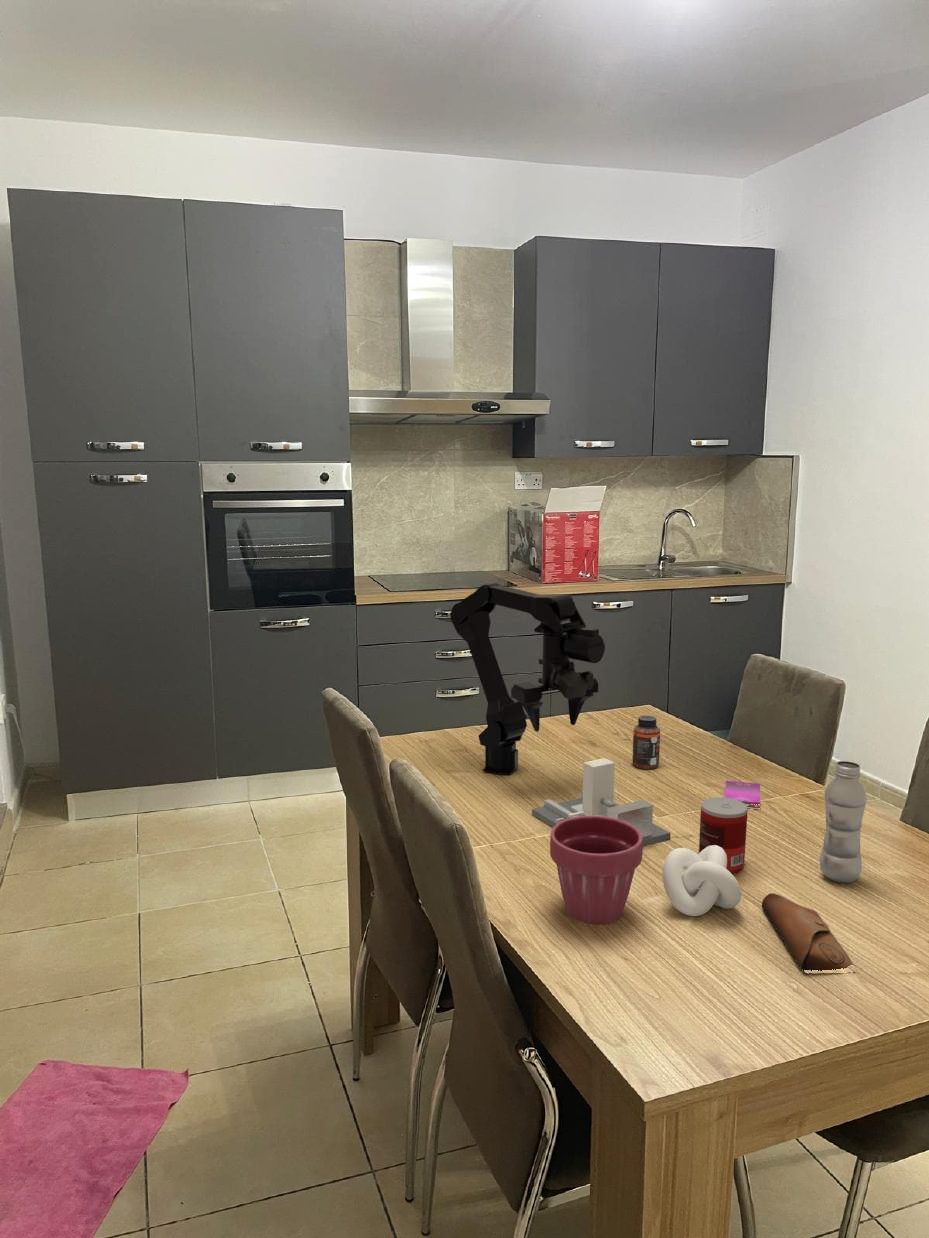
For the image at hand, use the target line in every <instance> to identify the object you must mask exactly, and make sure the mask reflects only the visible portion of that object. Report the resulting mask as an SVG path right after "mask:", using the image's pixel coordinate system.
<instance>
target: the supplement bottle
mask: <svg viewBox="0 0 929 1238" xmlns="http://www.w3.org/2000/svg"><path fill="white" fill-rule="evenodd" d="M637 720H638V721H637V724H636V725H635V726H634V728H633V734H632V735H633V736H632V737H633V739H632V765H633V766H634V767H635V768H639V769H641V770H642V769H643V770H653V769H656V768H658V767H659V765H660V751H661V750H660V748H661V747H660V746H661V745H660V744H661V743H660V742H661V728H659V726H658V725H657V718H656V716H653V715H640V716H638V718H637Z"/></svg>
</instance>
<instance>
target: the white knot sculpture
mask: <svg viewBox="0 0 929 1238" xmlns="http://www.w3.org/2000/svg"><path fill="white" fill-rule="evenodd" d="M662 865H663V866H662V883H663V888H664V891H665V894H666V896H667V898H668V900H669V902H670V903H671V905H672V906H673V907H674V908H675V909H676V910H678V911H679V912H680V913H681V914H684V915H686V916H688V917H698V916H699V917H700V916H702V915H704V914H706V913H707V912H709V910H711V908H712V907H713V906H714V905H716V906H718V907H719V906H720V907H719V908H722V909H733V908H735V907H737V906H738V905H739V904H740V902H741V899H742V891H741V886H740V884H739V882H738V881H737V879H736V877H735V876H734V874H731V873H730V872H729V871H728V870H727V869H726V867H727V855H726V853H725V851H724V850H723V849H722V848H721V847H719V846H717V845H712V846H708V847H706V848H705V849H703V850H702V851H701V852H700V853H699V852H698V853H696V852H695V851H693V850H691V849H690V848H688V847H677V848H675V849H672V850H671V851H670V852H668V855H667V856H666V858H665V859H664V862H663V864H662ZM683 869H684V871H683Z"/></svg>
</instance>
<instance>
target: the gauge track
mask: <svg viewBox="0 0 929 1238" xmlns="http://www.w3.org/2000/svg"><path fill="white" fill-rule="evenodd" d="M580 795H581V796H580V797H579V798H574V799H569V800H565V801H559V802H555V801H553V800H551V799H549V798H548V799H544V801H543V803H544V805H543V806H539V807H535V808H532V809H531V815H532V816H534V817H535V818H537V819H538V820H540V821H541V822H543V823H545V824H546V825H548V826H550V827H551V828H553V827H554V826H555V825H556V824H557V823H559V822H561V821H563V820H566V819H569V818H573V817H569V816H568V814H572V812H570V807H571V806H575V805H579V804H583V791H581V793H580ZM618 805H619V804H617V803H615V806H618ZM574 817H578V816H574ZM667 839H668V840H671V832H670V831H668V830H666V829H664V828H662V827H661V826H658V825H656V824H655V823H653V822H652V836H651V837H647V838H643V847H644V846H645V845H646V846H650V845H653V844H657V843H660V842H664V841H668V840H667ZM656 842H657V843H656Z"/></svg>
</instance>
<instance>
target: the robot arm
mask: <svg viewBox="0 0 929 1238" xmlns="http://www.w3.org/2000/svg"><path fill="white" fill-rule="evenodd" d="M497 606H500V607H504V608H508V609H512V610H516V611H519V612H522V613H523V612H524V613H527V614H529V615H531V617H532V618H534V620H535V621H538V622H540V624H538V625H537V626H536V627H535V628H534V629H533V631H534V632H535V633H539V634H542V657H541V658H538V664H539V665H541V670H542V671H541V677H538V678H537V679H538V681H537V682H538V683H539V684H541V685H536V684H533V683H530V682H528V681H527V682H522V683H515V684H513V686H512V687H511V689H510V692H511V693H510V694H509V692H508V689H507V686H506V684H505V680H504V678H503V675H502V671H501V668H500V666H499V663H498V660H497V657H496V654H495V651H494V649H493V646H492V642H491V640H490V628H491V618H490V614H491V613H492V612H493V611H495V609H496V607H497ZM449 617H450V620H451V623H452V624H453V625H452V626H453V627H454V629H455V631H456V633H457V635H459V637H460V638H462V639H463V640H464V641H465V642H466V643H467V645H468V649H469V651H470V654H471V656H472V657H471V658H472V660H473V663H474V666H475V669H476V671H477V674H478V678H479V680H480V683H481V687H482V690H483V693H484V695H485V699H486V702H487V709H486V714H485V719H486V724H487V727H486V728H485V729H483V731H482V732H481V733H479V734H478V739H479V744H480V745H481V746H483V747H485V749H484V751H485V752H484V754H485V755H484V756H485V757H484V758H485V759H484V760H485V761H484V764H485V765H484V767H483V769H482V772H483V773H484V772H485V773H490V774H491V773H492V774H497V775H498V774H499V775H505V776H506V775H507V776H510V775H511V774H513V772H515V770H516V769H517V768H518V767H519V749H518V748H517V743H518V742H520V741H521V740H522V737H523V734H524V733H525V732H526V729H527V728H528V723H527V719H529V720H530V723H531V726H532V728H533V730H534V731H535V732H537V733H538V732H540V723H541V722H540V719H541V717H540V715H541V713H540V712H541V711H540V709H541V707H542V705H543V704H544V702H542V701H541V700H542V698H543V695H544V696H545V695H550V694H557V693H561V695H563V697H564V698H565V699H567V702H568V718H569V722H570V725H571V726H575V725H576V723H577V720H578V719H579V716H580V713H581V710H582V708H583V706H584V704H585V702H586V701H587V700H588V699H590V698H591V697H594V695H595V694H594V693H599V691H600V683H599V681H598V679H597V678H595V677H594V673H593V672H592V671H591V670H587V671H582V672H581V671H578V672H577V671H576V670H575V664H574V662H575V661H580V662H586V663H590V664H598V663H599V662H600V661H601V660H602V658H603V656H604V654H605V650H606V644H605V642H604V639H603V636H601V635H599V634H600V630H599V629H598V628H586V627H587V626H586V623H585V622H584V620H583V617H582V615H581V614H580V612H579V610H578V609H577V607H576V603H575V602H574V598H573V597H572V596H571V595H570V594H566V593H546V594H545V593H544V594H538V593H534V592H530V591H526V590H522V589H517V588H514V587H510V586H505V585H502V584H500V583H497V582H492V583H486V584H482V585H480V586H479V587H478V588H477V589H476V590H475V591H474V592H473V593H470V595H467V596H466V597H465V598H463V599H462V600H461V601H460V602H457V603H455V604H453V606H452V608H451V611H450V612H449ZM573 660H575V661H573ZM510 695H511V696H510ZM515 700H516V701H515ZM524 709H525V710H524ZM525 711H526V713H525ZM526 714H527V715H526Z"/></svg>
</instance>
